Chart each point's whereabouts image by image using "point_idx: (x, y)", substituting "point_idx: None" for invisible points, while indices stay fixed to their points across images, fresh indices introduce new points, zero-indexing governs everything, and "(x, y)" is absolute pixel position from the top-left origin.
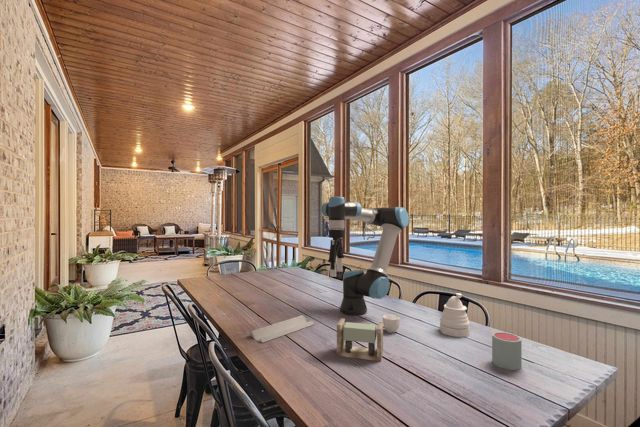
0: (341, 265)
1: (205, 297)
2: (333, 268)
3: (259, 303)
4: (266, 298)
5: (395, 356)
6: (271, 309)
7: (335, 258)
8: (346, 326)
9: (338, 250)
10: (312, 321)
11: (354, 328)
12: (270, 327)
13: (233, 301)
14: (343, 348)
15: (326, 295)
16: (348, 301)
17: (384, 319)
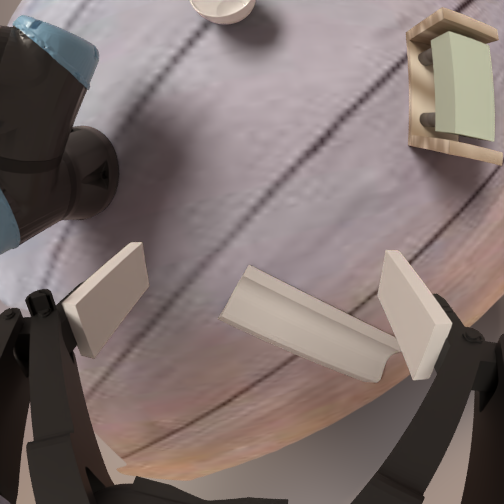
0: (118, 272)
1: (169, 476)
2: (444, 303)
3: (146, 415)
4: (108, 407)
5: (416, 8)
6: (171, 390)
7: (472, 359)
8: (487, 132)
9: (84, 427)
10: (245, 274)
11: (493, 106)
12: (340, 359)
13: (163, 449)
14: (431, 137)
15: (12, 285)
16: (85, 189)
17: (243, 10)
